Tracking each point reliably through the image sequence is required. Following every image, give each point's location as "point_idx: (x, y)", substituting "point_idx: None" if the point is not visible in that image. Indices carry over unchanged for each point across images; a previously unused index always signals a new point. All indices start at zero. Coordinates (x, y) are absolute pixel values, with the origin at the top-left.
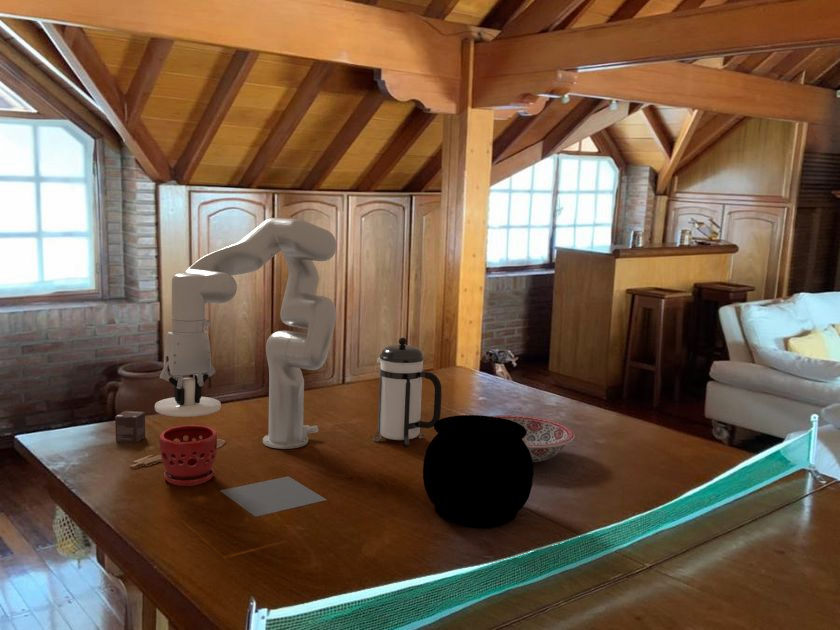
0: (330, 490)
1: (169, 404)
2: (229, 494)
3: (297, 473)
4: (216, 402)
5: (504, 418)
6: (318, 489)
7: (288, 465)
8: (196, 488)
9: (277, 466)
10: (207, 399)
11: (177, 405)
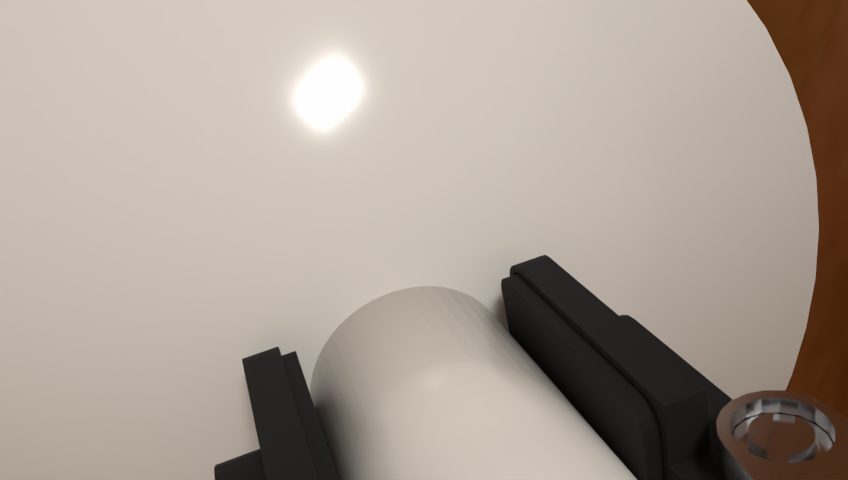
0: (825, 385)
1: (118, 387)
2: None
3: (817, 155)
4: (762, 343)
5: None
6: (794, 368)
7: (838, 17)
8: None
9: (786, 15)
10: (722, 166)
11: (247, 448)
